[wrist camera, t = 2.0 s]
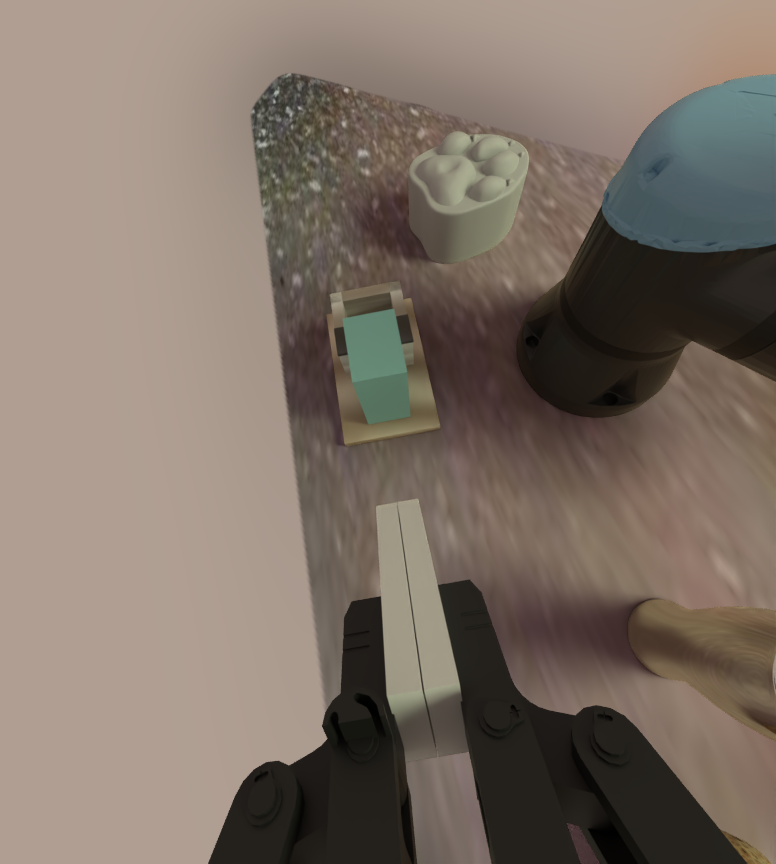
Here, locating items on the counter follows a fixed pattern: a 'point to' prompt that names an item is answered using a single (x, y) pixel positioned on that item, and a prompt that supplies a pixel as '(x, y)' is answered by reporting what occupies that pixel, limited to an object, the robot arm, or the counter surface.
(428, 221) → the lumpy-topped squat cylinder
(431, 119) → the counter surface
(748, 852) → the natural sponge
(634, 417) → the counter surface
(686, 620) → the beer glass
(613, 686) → the counter surface
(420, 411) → the guide channel
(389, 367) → the teal block
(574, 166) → the counter surface
